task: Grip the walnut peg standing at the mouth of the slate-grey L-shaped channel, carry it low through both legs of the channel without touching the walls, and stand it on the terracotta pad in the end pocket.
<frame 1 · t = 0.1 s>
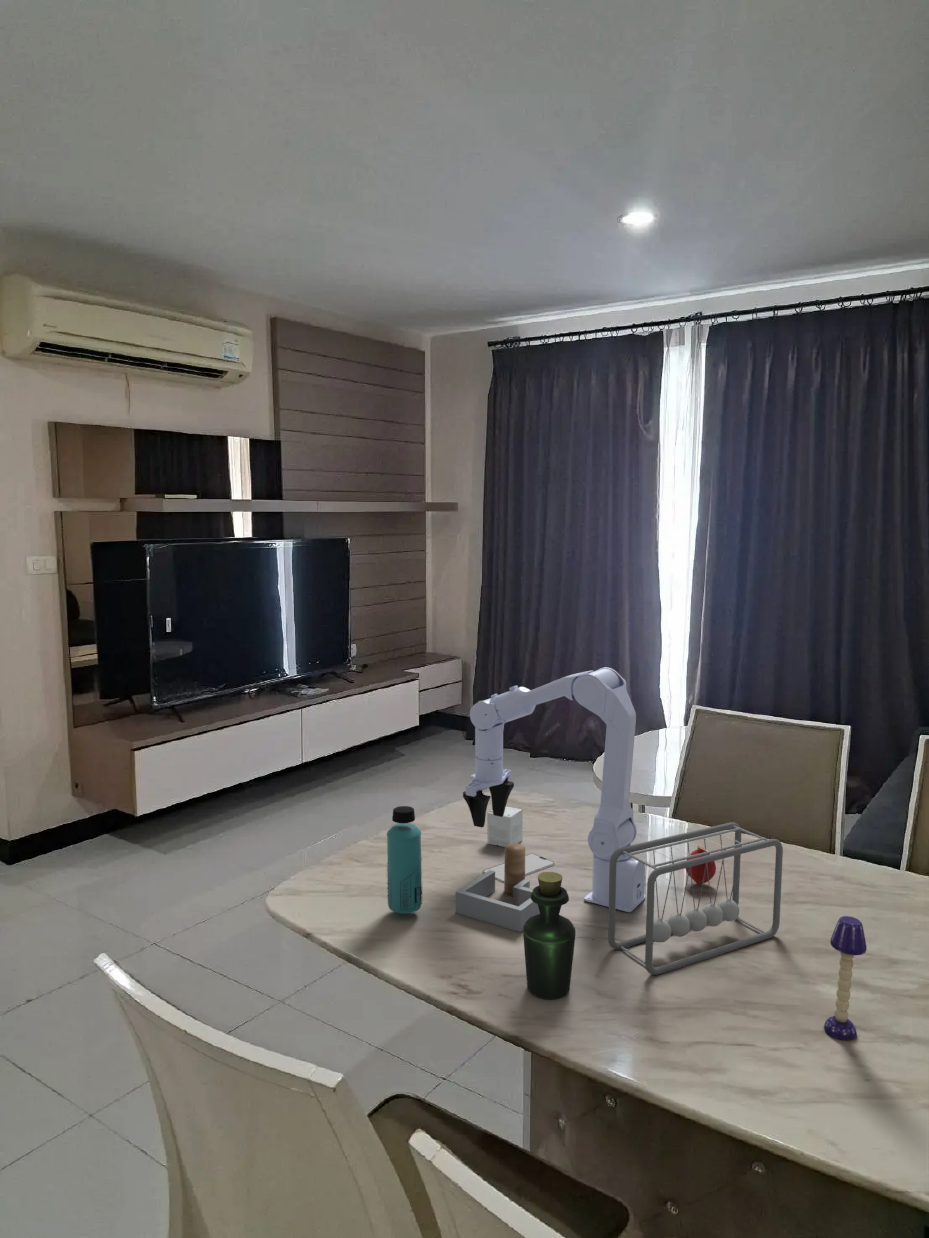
hand: (488, 820, 178), 10 cm above the table, tool pointing down, fingers open, 7 cm apart
peg: (514, 891, 167), on the table
toy lamp: (842, 1033, 121), on the table
beverage bottle: (404, 914, 157), on the table
onion: (699, 885, 171), on the table
channel: (512, 910, 159), on the table
smartphone: (519, 870, 179), on the table
skincare box: (504, 843, 193), on the table
newton's cradle: (694, 944, 147), on the table
potion bottle: (548, 989, 132), on the table
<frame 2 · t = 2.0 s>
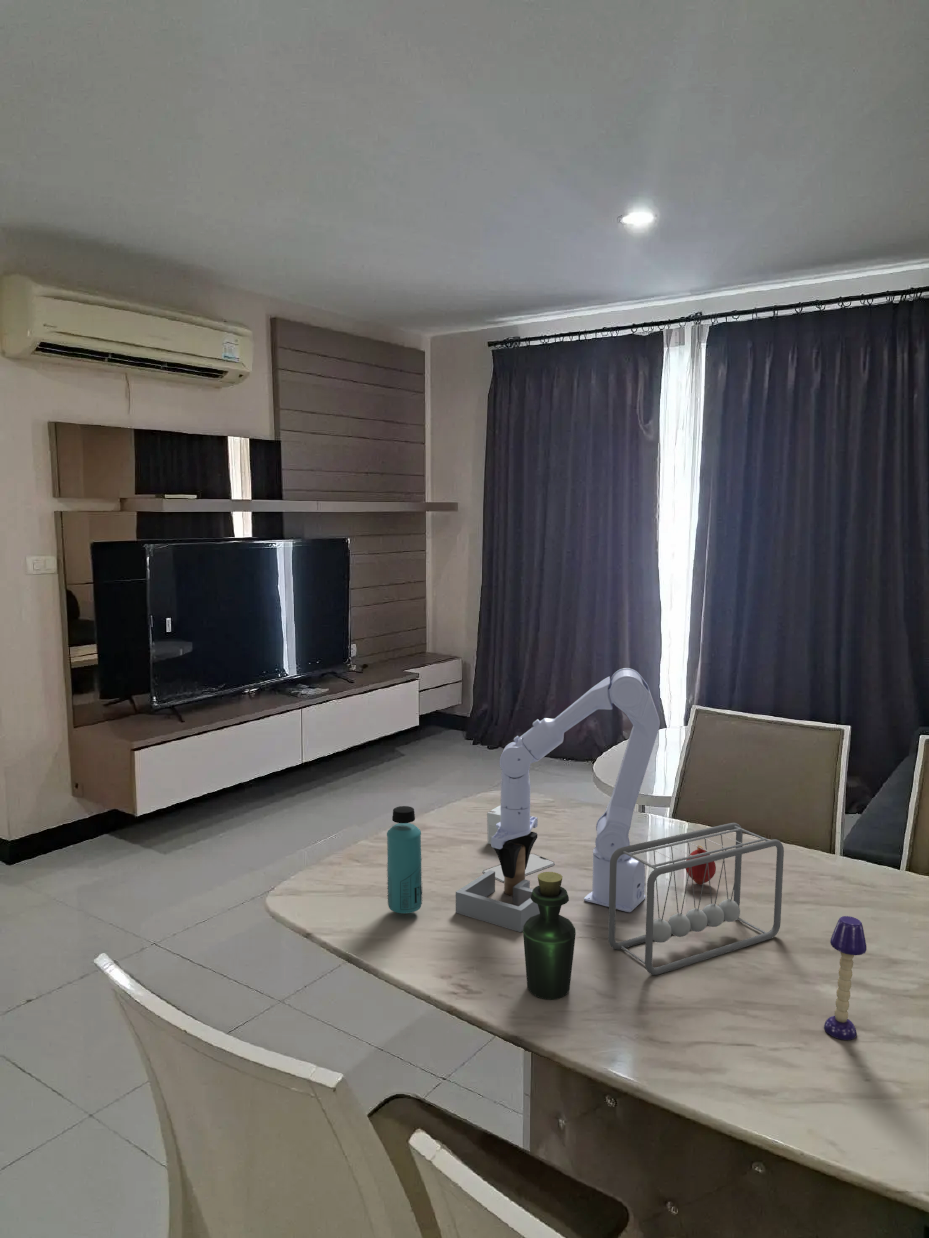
hand: (514, 872, 167), 4 cm above the table, tool pointing down, fingers closed on peg, 4 cm apart
peg: (514, 891, 167), on the table, touching gripper
everything else where it was.
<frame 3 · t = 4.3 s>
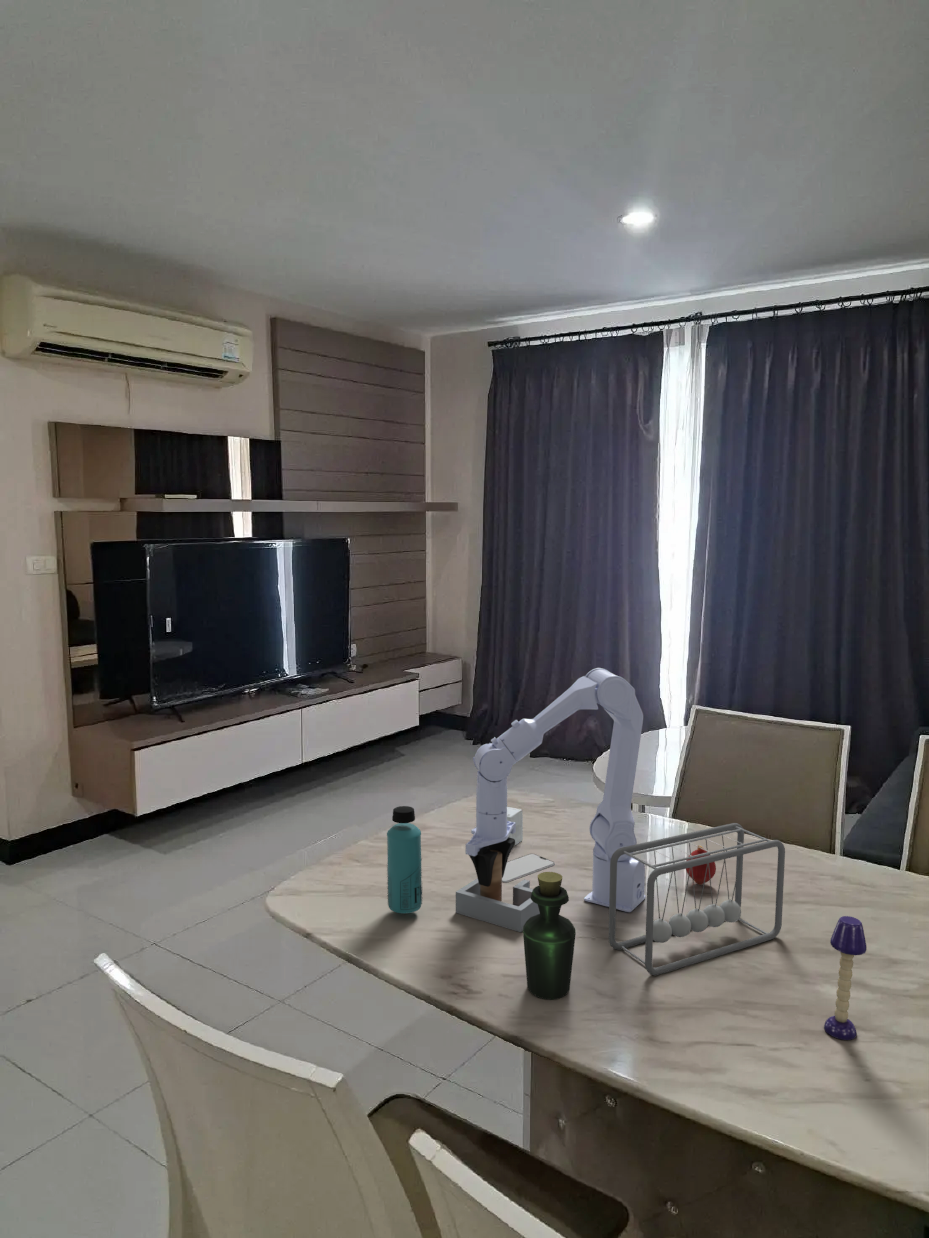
hand: (491, 880, 159), 5 cm above the table, tool pointing down, fingers closed on peg, 4 cm apart
peg: (490, 900, 160), point 1 cm above the table, touching gripper
everything else where it was.
when the fingers open (4 cm above the table, at t = 6.5 s): peg stays where it is, resting on channel.
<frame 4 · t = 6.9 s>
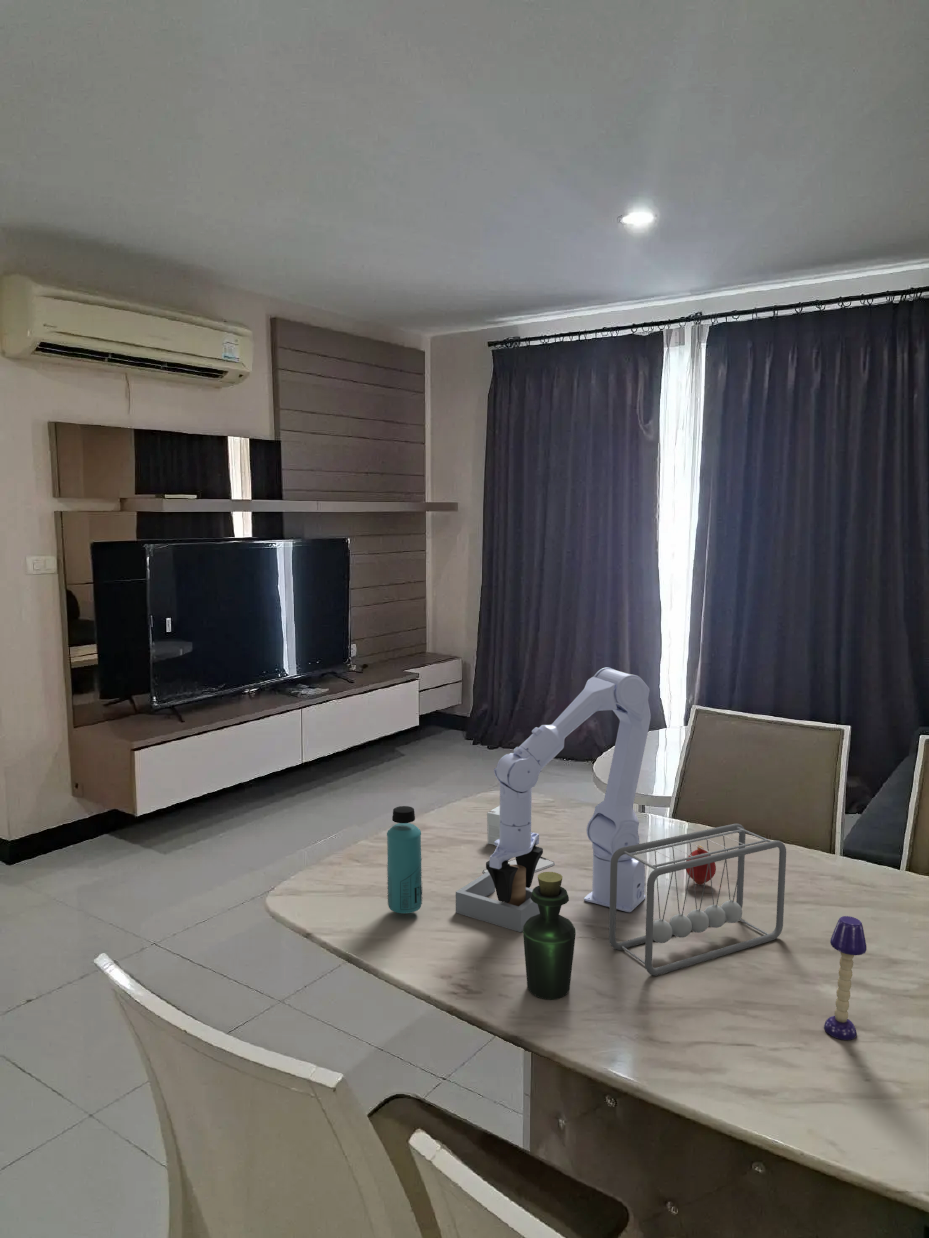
hand: (514, 893, 156), 5 cm above the table, tool pointing down, fingers open, 7 cm apart
peg: (514, 916, 156), resting on channel
everything else where it was.
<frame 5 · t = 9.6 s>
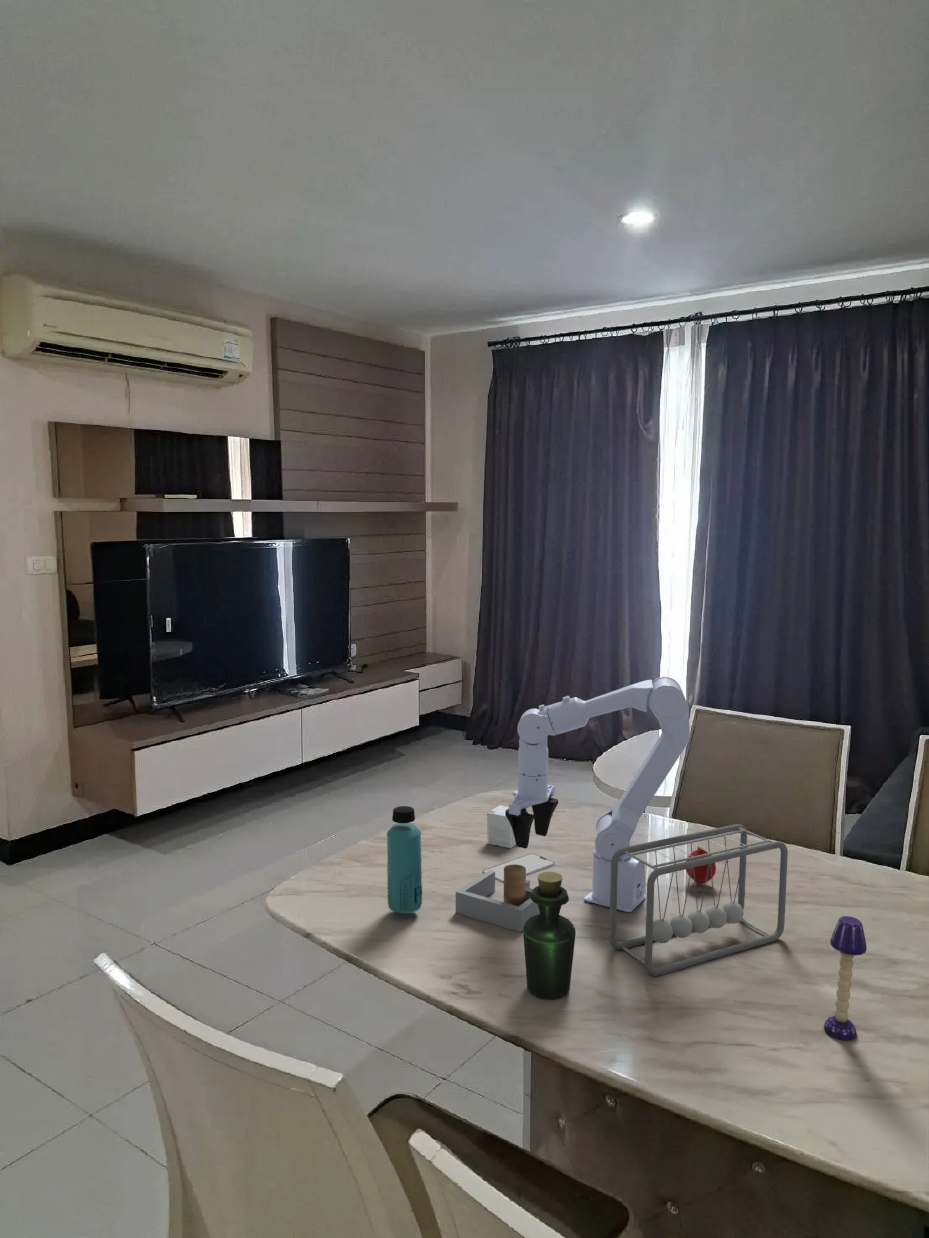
hand: (531, 840, 165), 10 cm above the table, tool pointing down, fingers open, 7 cm apart
nothing on the table moved.
at the end: peg 0.0 cm from the target spot, resting on channel; peg tilted 0°; the gripper is holding nothing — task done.
